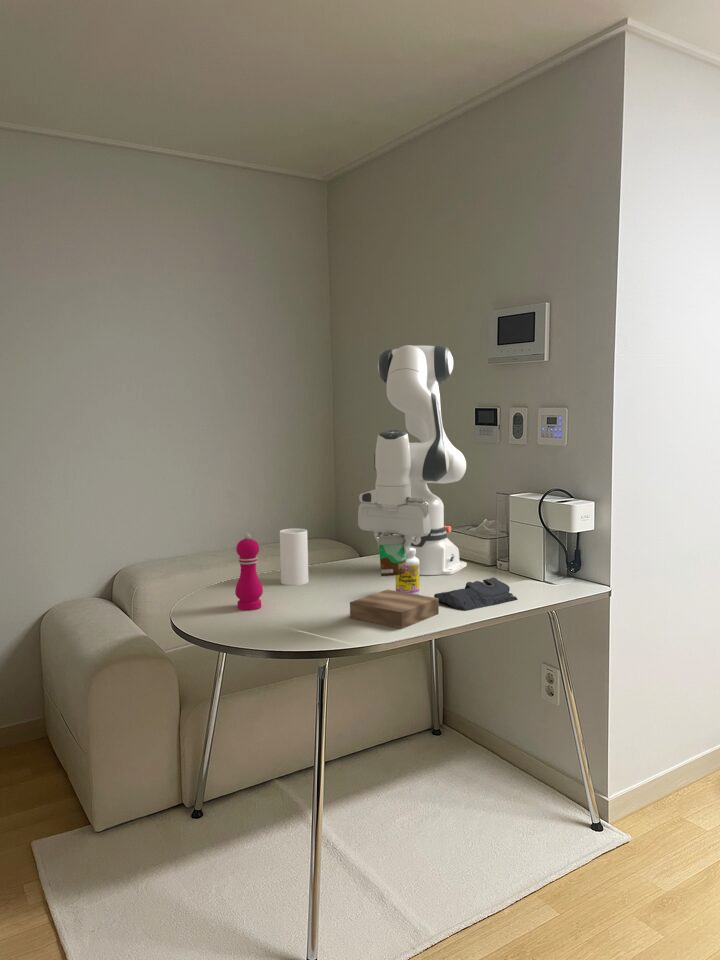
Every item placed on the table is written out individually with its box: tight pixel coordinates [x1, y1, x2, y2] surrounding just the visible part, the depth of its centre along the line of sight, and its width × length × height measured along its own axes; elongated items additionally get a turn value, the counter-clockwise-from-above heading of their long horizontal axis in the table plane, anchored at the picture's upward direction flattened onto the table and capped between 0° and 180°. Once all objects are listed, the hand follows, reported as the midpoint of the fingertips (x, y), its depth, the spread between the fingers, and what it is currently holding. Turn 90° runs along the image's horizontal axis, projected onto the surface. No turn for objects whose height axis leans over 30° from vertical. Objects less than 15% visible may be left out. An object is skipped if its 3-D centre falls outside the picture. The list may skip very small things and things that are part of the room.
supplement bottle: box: [395, 548, 420, 595], centre depth 216 cm, size 7×7×13 cm
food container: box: [377, 533, 406, 577], centre depth 193 cm, size 12×6×10 cm, turn 164°
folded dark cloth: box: [433, 576, 518, 612], centre depth 210 cm, size 15×22×5 cm
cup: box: [279, 527, 309, 586], centre depth 231 cm, size 8×8×16 cm
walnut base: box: [349, 589, 440, 630], centre depth 195 cm, size 16×16×4 cm
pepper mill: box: [234, 532, 264, 611], centre depth 204 cm, size 7×7×20 cm
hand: (393, 550), depth 194 cm, fingers closed on food container, 6 cm apart
